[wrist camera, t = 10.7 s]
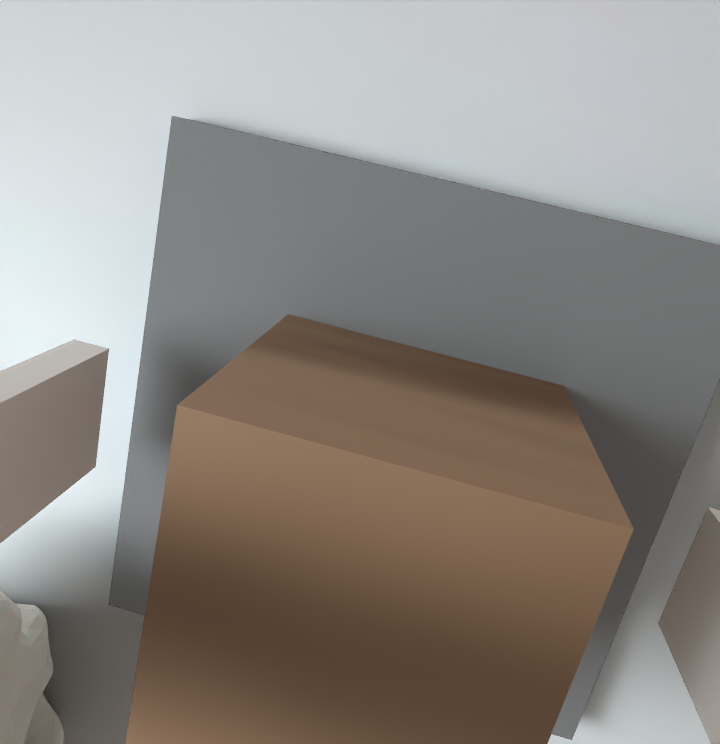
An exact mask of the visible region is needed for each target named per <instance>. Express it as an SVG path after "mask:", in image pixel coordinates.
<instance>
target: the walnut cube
mask: <svg viewBox="0 0 720 744" xmlns="http://www.w3.org/2000/svg"><path fill="white" fill-rule="evenodd" d="M632 532H633V527H632V525H631V523H630V520H629V518H628V516H627V514H626V512H625V510H624V508H623V506H622V504H621V502H620V500H619V498H618V496H617V494H616V492H615V490H614V488H613V485H612V483H611V481H610V479H609V477H608V475H607V473H606V471H605V469H604V467H603V465H602V463H601V461H600V459H599V457H598V455H597V453H596V450H595V448H594V446H593V444H592V442H591V440H590V438H589V436H588V434H587V432H586V430H585V428H584V426H583V424H582V422H581V420H580V418H579V415H578V413H577V411H576V409H575V407H574V405H573V403H572V401H571V399H570V397H569V395H568V393H567V391H566V389H565V387H564V386H563V385H559V384H555V383H552V382H548V381H544V380H540V379H536V378H532V377H528V376H525V375H521V374H517V373H513V372H509V371H505V370H501V369H498V368H494V367H490V366H486V365H482V364H478V363H474V362H471V361H467V360H463V359H459V358H455V357H451V356H447V355H444V354H440V353H436V352H432V351H428V350H424V349H420V348H417V347H413V346H409V345H405V344H401V343H397V342H393V341H390V340H386V339H382V338H378V337H374V336H370V335H366V334H363V333H359V332H355V331H351V330H347V329H343V328H339V327H336V326H332V325H328V324H324V323H320V322H316V321H312V320H309V319H305V318H301V317H297V316H293V315H289V314H288V315H287V316H285V317H284V318H283V319H282V320H281V321H279V322H278V323H277V324H276V325H274V326H273V327H272V328H271V329H270V330H268V331H267V332H266V333H265V334H263V335H262V336H261V337H260V338H259V339H257V340H256V341H255V342H254V343H252V344H251V345H250V346H249V347H248V348H246V349H245V350H244V351H243V352H241V353H240V354H239V355H238V356H237V357H235V358H234V359H233V360H232V361H230V362H229V363H228V364H227V365H226V366H224V367H223V368H222V369H221V370H219V371H218V372H217V373H216V374H215V375H213V376H212V377H211V378H210V379H208V380H207V381H206V382H205V383H204V384H202V385H201V386H200V387H199V388H197V389H196V390H195V391H194V392H193V393H191V394H190V395H189V396H188V397H186V398H185V399H184V400H183V401H182V402H180V403H179V404H178V405H177V410H176V417H175V423H174V430H173V436H172V443H171V449H170V456H169V462H168V469H167V475H166V482H165V488H164V495H163V501H162V507H161V514H160V520H159V527H158V533H157V540H156V546H155V553H154V559H153V566H152V572H151V579H150V585H149V592H148V598H147V605H146V611H145V618H144V624H143V631H142V637H141V644H140V650H139V657H138V663H137V669H136V676H135V682H134V689H133V695H132V702H131V708H130V715H129V721H128V728H127V734H126V741H125V744H547V743H548V741H549V738H550V736H551V733H552V731H553V728H554V726H555V723H556V721H557V718H558V716H559V713H560V711H561V708H562V706H563V703H564V701H565V698H566V696H567V693H568V691H569V688H570V686H571V683H572V681H573V679H574V676H575V674H576V671H577V669H578V666H579V664H580V661H581V659H582V656H583V654H584V651H585V649H586V646H587V644H588V641H589V639H590V636H591V634H592V631H593V629H594V626H595V624H596V621H597V619H598V616H599V614H600V611H601V609H602V606H603V604H604V601H605V599H606V597H607V594H608V592H609V589H610V587H611V584H612V582H613V579H614V577H615V574H616V572H617V569H618V567H619V564H620V562H621V559H622V557H623V554H624V552H625V549H626V547H627V544H628V542H629V539H630V537H631V534H632Z"/></svg>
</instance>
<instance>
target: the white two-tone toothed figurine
mask: <svg viewBox="0 0 720 744" xmlns="http://www.w3.org/2000/svg"><path fill="white" fill-rule="evenodd" d="M53 671H54V669H53V664H52V658H51V652H50V646H49V638H48V625H47V620H46V617H45V615H44V614H43V612H42V611H41V610H40V609H39V608H38V607H36V606H35V605H29V604H16V603H14V602H13V601H12V600H11V599H10V598H9V597H8V596H7V595H6V594H5V593H4V592H3V591H2V590H1V589H0V744H64V734H65V733H64V730H63V727H62V724H61V721H60V718H59V717H58V716H57V714H56V713H55V712H54V710H53V709H52V707H51V706H50V705H49V703H48V701H47V699H46V698H45V696H44V694H43V691H44V689H45V687H46V686H47V684H48V682H49V680H50V678H51V676H52V673H53Z"/></svg>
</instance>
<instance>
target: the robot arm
mask: <svg viewBox="0 0 720 744" xmlns="http://www.w3.org/2000/svg"><path fill="white" fill-rule="evenodd" d="M108 352H109V349H108V348H104V347H100V346H96V345H93V344H89V343H85V342H81V341H77V340H72V341H70V342H68V343H65V344H63V345H61V346H58V347H56V348H54V349H51V350H49V351H47V352H44V353H42V354H40V355H37V356H35V357H33V358H30V359H28V360H26V361H23V362H21V363H19V364H16V365H14V366H12V367H9V368H7V369H5V370H2V371H0V543H1V542H2V541H4V540H5V539H6V538H7V537H9V536H10V535H11V534H12V533H14V532H15V531H16V530H17V529H19V528H20V527H21V526H22V525H24V524H25V523H26V522H27V521H29V520H30V519H31V518H32V517H33V516H35V515H36V514H37V513H38V512H40V511H41V510H42V509H43V508H45V507H46V506H47V505H48V504H50V503H51V502H52V501H53V500H55V499H56V498H57V497H58V496H60V495H61V494H62V493H63V492H65V491H66V490H67V489H68V488H70V487H71V486H72V485H73V484H75V483H76V482H77V481H78V480H80V479H81V478H82V477H83V476H85V475H86V474H87V473H88V472H89V471H91V470H92V469H93V468H94V467H95V466H96V457H97V448H98V440H99V431H100V422H101V413H102V404H103V396H104V387H105V378H106V369H107V361H108ZM659 626H660V628H661V630H662V632H663V635H664V637H665V639H666V641H667V644H668V646H669V648H670V651H671V653H672V655H673V657H674V660H675V662H676V664H677V667H678V669H679V671H680V673H681V676H682V678H683V680H684V682H685V685H686V687H687V689H688V692H689V694H690V696H691V698H692V701H693V703H694V705H695V708H696V710H697V712H698V714H699V717H700V719H701V721H702V723H703V726H704V728H705V730H706V733H707V735H708V737H709V739H710V742H711V744H720V510H717V509H714V508H710V507H708V509H707V511H706V514H705V516H704V518H703V521H702V523H701V525H700V528H699V530H698V532H697V534H696V537H695V539H694V541H693V544H692V546H691V548H690V551H689V553H688V555H687V558H686V560H685V562H684V565H683V567H682V569H681V572H680V574H679V576H678V579H677V581H676V583H675V585H674V588H673V590H672V592H671V595H670V597H669V599H668V602H667V604H666V606H665V609H664V611H663V613H662V616H661V618H660V620H659Z"/></svg>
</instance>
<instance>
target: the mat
mask: <svg viewBox="0 0 720 744" xmlns="http://www.w3.org/2000/svg"><path fill="white" fill-rule="evenodd" d="M288 314H289V315H293V316H297V317H301V318H305V319H309V320H312V321H316V322H320V323H324V324H328V325H332V326H336V327H339V328H343V329H347V330H351V331H355V332H359V333H363V334H366V335H370V336H374V337H378V338H382V339H386V340H390V341H393V342H397V343H401V344H405V345H409V346H413V347H417V348H420V349H424V350H428V351H432V352H436V353H440V354H444V355H447V356H451V357H455V358H459V359H463V360H467V361H471V362H474V363H478V364H482V365H486V366H490V367H494V368H498V369H501V370H505V371H509V372H513V373H517V374H521V375H525V376H528V377H532V378H536V379H540V380H544V381H548V382H552V383H555V384H559V385H563V386H564V387H565V389H566V391H567V393H568V395H569V397H570V399H571V401H572V403H573V405H574V407H575V409H576V411H577V413H578V415H579V418H580V420H581V422H582V424H583V426H584V428H585V430H586V432H587V434H588V436H589V438H590V440H591V442H592V444H593V446H594V448H595V450H596V453H597V455H598V457H599V459H600V461H601V463H602V465H603V467H604V469H605V471H606V473H607V475H608V477H609V479H610V481H611V483H612V485H613V488H614V490H615V492H616V494H617V496H618V498H619V500H620V502H621V504H622V506H623V508H624V510H625V512H626V514H627V516H628V518H629V520H630V523H631V525H632V527H633V532H632V534H631V537H630V539H629V542H628V544H627V547H626V549H625V552H624V554H623V557H622V559H621V562H620V564H619V567H618V569H617V572H616V574H615V577H614V579H613V582H612V584H611V587H610V589H609V592H608V594H607V597H606V599H605V601H604V604H603V606H602V609H601V611H600V614H599V616H598V619H597V621H596V624H595V626H594V629H593V631H592V634H591V636H590V639H589V641H588V644H587V646H586V649H585V651H584V654H583V656H582V659H581V661H580V664H579V666H578V669H577V671H576V674H575V676H574V679H573V681H572V683H571V686H570V688H569V691H568V693H567V696H566V698H565V701H564V703H563V706H562V708H561V711H560V713H559V716H558V718H557V721H556V723H555V726H554V728H553V731H552V733H551V734H553V735H557V736H560V737H564V738H567V739H571V740H572V738H573V736H574V733H575V731H576V728H577V726H578V723H579V721H580V719H581V716H582V714H583V711H584V709H585V706H586V704H587V702H588V699H589V697H590V694H591V692H592V689H593V687H594V685H595V682H596V680H597V677H598V675H599V672H600V670H601V667H602V665H603V663H604V660H605V658H606V655H607V653H608V650H609V648H610V646H611V643H612V641H613V638H614V636H615V633H616V631H617V628H618V626H619V624H620V621H621V619H622V616H623V614H624V611H625V609H626V607H627V604H628V602H629V599H630V597H631V594H632V592H633V590H634V587H635V585H636V582H637V580H638V577H639V575H640V572H641V570H642V568H643V565H644V563H645V560H646V558H647V555H648V553H649V551H650V548H651V546H652V543H653V541H654V538H655V536H656V533H657V531H658V529H659V526H660V524H661V521H662V519H663V516H664V514H665V512H666V509H667V507H668V504H669V502H670V499H671V497H672V495H673V492H674V490H675V487H676V485H677V482H678V480H679V477H680V475H681V473H682V470H683V468H684V465H685V463H686V460H687V458H688V456H689V453H690V451H691V448H692V446H693V443H694V441H695V438H696V436H697V434H698V431H699V429H700V426H701V424H702V421H703V419H704V417H705V414H706V412H707V409H708V407H709V404H710V402H711V400H712V397H713V395H714V392H715V390H716V387H717V385H718V382H719V380H720V245H716V244H712V243H707V242H703V241H699V240H695V239H691V238H686V237H682V236H678V235H674V234H670V233H665V232H661V231H657V230H653V229H648V228H644V227H640V226H636V225H632V224H627V223H623V222H619V221H615V220H610V219H606V218H602V217H598V216H594V215H589V214H585V213H581V212H577V211H572V210H568V209H564V208H560V207H556V206H551V205H547V204H543V203H539V202H535V201H530V200H526V199H522V198H518V197H513V196H509V195H505V194H501V193H497V192H492V191H488V190H484V189H480V188H475V187H471V186H467V185H463V184H459V183H454V182H450V181H446V180H442V179H437V178H433V177H429V176H425V175H421V174H416V173H412V172H408V171H404V170H400V169H395V168H391V167H387V166H383V165H378V164H374V163H370V162H366V161H362V160H357V159H353V158H349V157H345V156H340V155H336V154H332V153H328V152H324V151H319V150H315V149H311V148H307V147H302V146H298V145H294V144H290V143H286V142H281V141H277V140H273V139H269V138H265V137H260V136H256V135H252V134H248V133H243V132H239V131H235V130H231V129H227V128H222V127H218V126H214V125H210V124H205V123H201V122H197V121H193V120H189V119H184V118H179V117H174V116H172V120H171V127H170V135H169V143H168V151H167V158H166V166H165V174H164V181H163V189H162V197H161V205H160V212H159V220H158V228H157V236H156V243H155V251H154V259H153V266H152V274H151V282H150V290H149V297H148V305H147V313H146V321H145V328H144V336H143V344H142V351H141V359H140V367H139V375H138V382H137V390H136V398H135V406H134V413H133V421H132V429H131V436H130V444H129V452H128V460H127V467H126V475H125V483H124V491H123V498H122V506H121V514H120V521H119V529H118V537H117V545H116V552H115V560H114V568H113V576H112V583H111V591H110V599H109V605H112V606H115V607H119V608H122V609H125V610H129V611H132V612H136V613H139V614H142V615H145V611H146V605H147V598H148V592H149V585H150V579H151V572H152V566H153V559H154V553H155V546H156V540H157V533H158V527H159V520H160V514H161V507H162V501H163V495H164V488H165V482H166V475H167V469H168V462H169V456H170V449H171V443H172V436H173V430H174V423H175V417H176V410H177V405H178V404H179V403H180V402H182V401H183V400H184V399H185V398H186V397H188V396H189V395H190V394H191V393H193V392H194V391H195V390H196V389H197V388H199V387H200V386H201V385H202V384H204V383H205V382H206V381H207V380H208V379H210V378H211V377H212V376H213V375H215V374H216V373H217V372H218V371H219V370H221V369H222V368H223V367H224V366H226V365H227V364H228V363H229V362H230V361H232V360H233V359H234V358H235V357H237V356H238V355H239V354H240V353H241V352H243V351H244V350H245V349H246V348H248V347H249V346H250V345H251V344H252V343H254V342H255V341H256V340H257V339H259V338H260V337H261V336H262V335H263V334H265V333H266V332H267V331H268V330H270V329H271V328H272V327H273V326H274V325H276V324H277V323H278V322H279V321H281V320H282V319H283V318H284V317H285V316H287V315H288Z"/></svg>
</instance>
